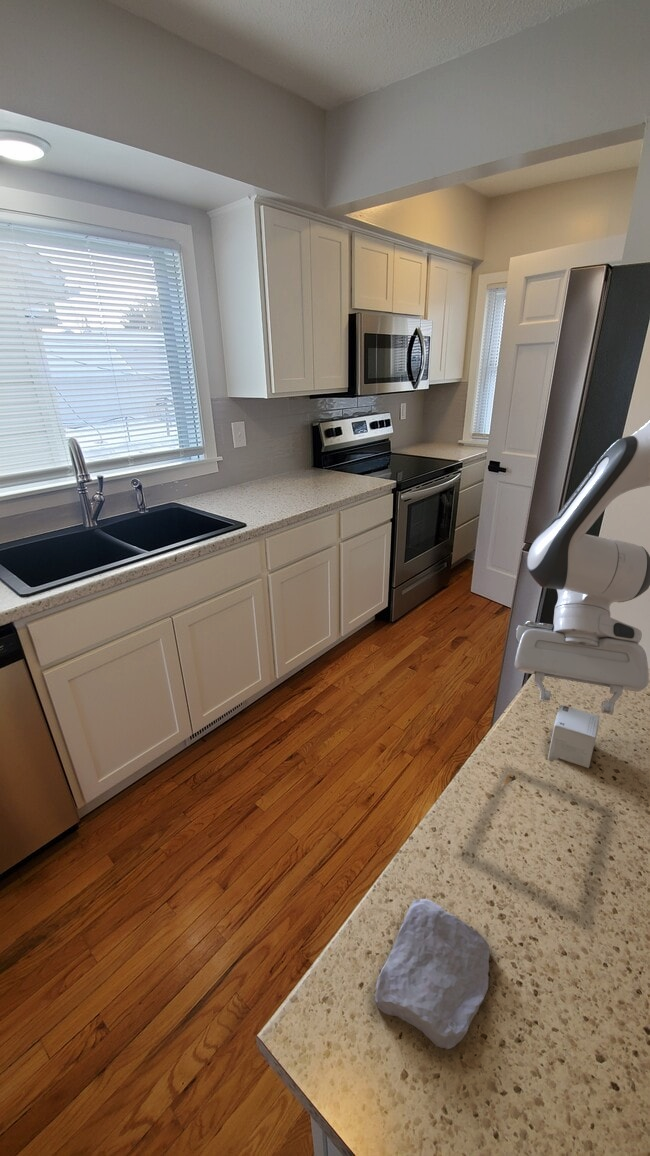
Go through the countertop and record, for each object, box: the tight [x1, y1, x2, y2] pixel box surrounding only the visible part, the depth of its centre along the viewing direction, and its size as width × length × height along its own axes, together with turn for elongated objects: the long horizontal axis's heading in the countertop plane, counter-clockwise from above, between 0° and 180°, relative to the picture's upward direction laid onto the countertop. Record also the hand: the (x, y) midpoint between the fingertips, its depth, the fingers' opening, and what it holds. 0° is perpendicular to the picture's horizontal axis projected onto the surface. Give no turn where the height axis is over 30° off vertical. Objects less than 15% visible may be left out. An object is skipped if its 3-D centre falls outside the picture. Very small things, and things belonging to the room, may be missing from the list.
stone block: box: [374, 898, 491, 1050], centre depth 52 cm, size 12×5×10 cm
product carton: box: [547, 704, 600, 769], centre depth 80 cm, size 6×6×7 cm
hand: (575, 707), depth 81 cm, fingers open, 8 cm apart
